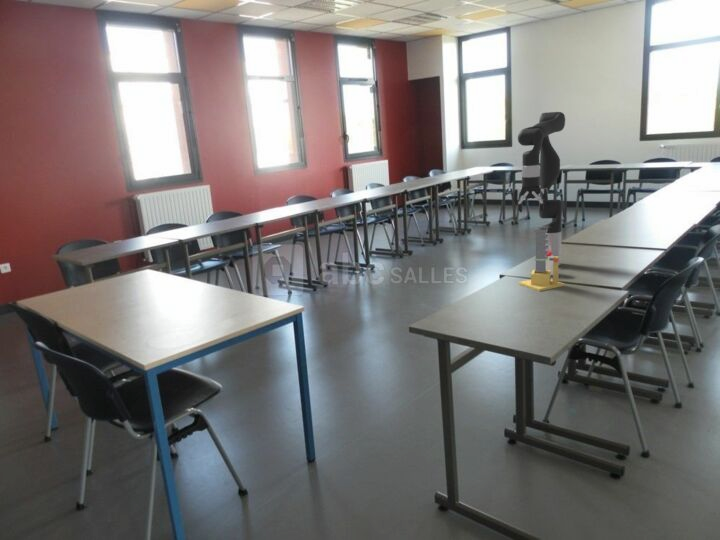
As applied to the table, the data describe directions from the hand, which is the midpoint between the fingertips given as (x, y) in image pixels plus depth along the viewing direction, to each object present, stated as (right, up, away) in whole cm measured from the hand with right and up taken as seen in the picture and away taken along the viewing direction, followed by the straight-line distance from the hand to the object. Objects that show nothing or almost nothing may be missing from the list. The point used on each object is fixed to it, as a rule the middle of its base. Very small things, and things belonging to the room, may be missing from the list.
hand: (530, 211), depth 237 cm
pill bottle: (+13, -28, +19) cm, 36 cm away
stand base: (+5, -33, +2) cm, 33 cm away
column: (+5, -26, 0) cm, 27 cm away
